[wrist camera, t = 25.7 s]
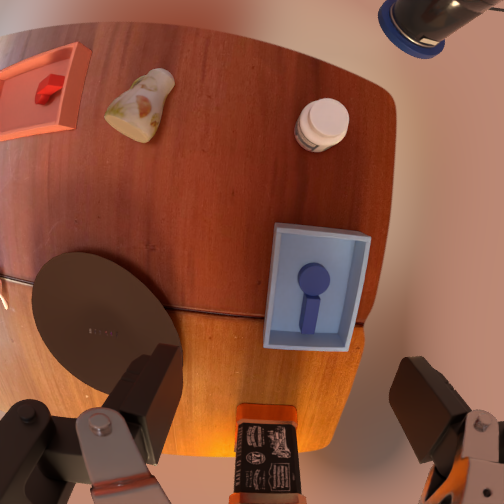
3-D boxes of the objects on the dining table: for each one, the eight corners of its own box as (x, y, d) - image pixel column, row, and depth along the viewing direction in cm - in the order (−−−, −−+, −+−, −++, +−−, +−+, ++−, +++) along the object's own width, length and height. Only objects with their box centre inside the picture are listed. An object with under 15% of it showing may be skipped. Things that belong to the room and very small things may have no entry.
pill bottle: (332, 113, 33) (353, 93, 24) (336, 152, 34) (358, 142, 25) (291, 113, 33) (301, 91, 24) (294, 152, 34) (305, 142, 26)
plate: (63, 382, 44) (54, 392, 40) (30, 245, 38) (16, 249, 34) (194, 409, 43) (190, 423, 40) (180, 248, 37) (172, 254, 34)
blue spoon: (299, 261, 37) (302, 266, 34) (329, 263, 37) (334, 269, 34) (290, 324, 39) (292, 333, 36) (319, 326, 39) (322, 335, 36)
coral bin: (92, 51, 31) (78, 41, 26) (75, 129, 34) (58, 124, 29) (5, 79, 31) (-10, 75, 27) (-8, 143, 34) (-24, 142, 30)
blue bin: (274, 222, 36) (276, 227, 32) (359, 231, 36) (371, 237, 32) (263, 331, 40) (263, 348, 35) (339, 335, 39) (347, 351, 35)
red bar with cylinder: (40, 107, 32) (27, 106, 30) (45, 85, 31) (32, 83, 29) (61, 94, 28) (45, 92, 26) (67, 69, 28) (52, 66, 25)
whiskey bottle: (237, 402, 43) (217, 586, 11) (297, 405, 43) (320, 584, 11) (234, 439, 45) (219, 593, 14) (288, 442, 45) (299, 593, 14)
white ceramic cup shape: (194, 78, 32) (169, 94, 25) (162, 134, 38) (134, 164, 31) (148, 56, 30) (112, 66, 23) (121, 113, 36) (85, 138, 28)
